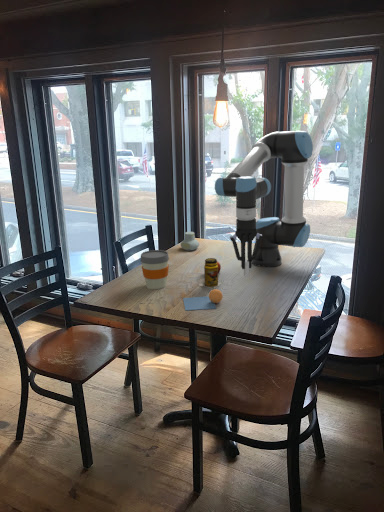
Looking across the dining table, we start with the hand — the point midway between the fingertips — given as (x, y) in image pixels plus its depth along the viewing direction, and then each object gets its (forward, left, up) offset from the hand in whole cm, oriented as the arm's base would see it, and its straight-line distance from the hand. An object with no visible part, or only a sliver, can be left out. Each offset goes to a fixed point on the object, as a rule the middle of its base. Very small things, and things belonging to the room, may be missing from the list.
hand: (246, 276), depth 160 cm
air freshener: (+16, -79, -11) cm, 81 cm away
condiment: (+12, -20, -11) cm, 25 cm away
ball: (+13, +1, -8) cm, 15 cm away
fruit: (+9, -33, -11) cm, 36 cm away
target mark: (+19, 0, -10) cm, 22 cm away
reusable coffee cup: (+36, -23, -11) cm, 44 cm away
